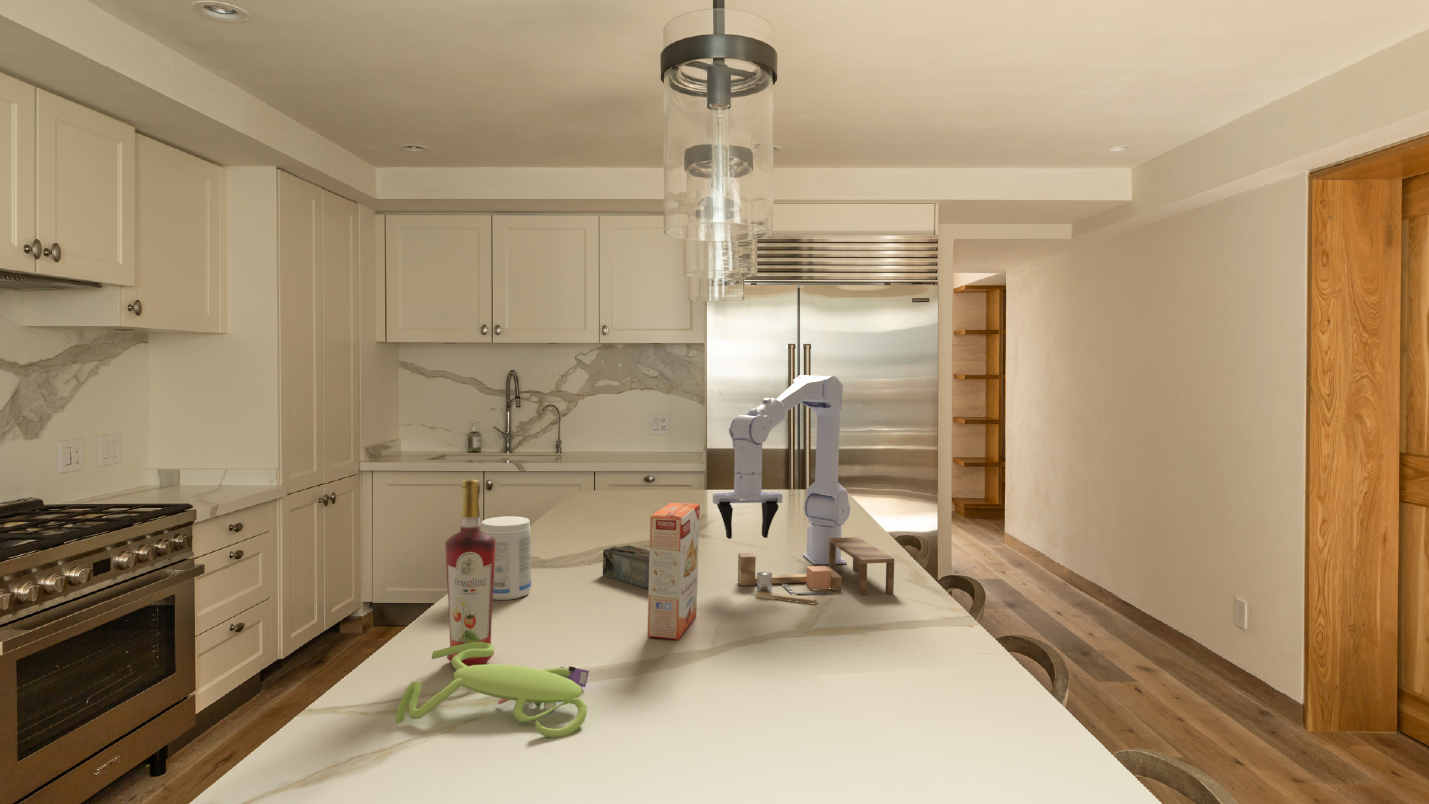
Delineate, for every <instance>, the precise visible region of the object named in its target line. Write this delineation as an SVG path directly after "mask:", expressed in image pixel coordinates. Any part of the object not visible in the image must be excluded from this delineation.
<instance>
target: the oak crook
mask: <svg viewBox="0 0 1429 804" xmlns="http://www.w3.org/2000/svg"><path fill="white" fill-rule="evenodd" d="M737 556H738V557H737V559H738V561H737V564H738V565H737V582H738V584H739V585H740V586H756V585H757V575H756V562H757V561H756V560H757V559H756V558H757V556H756V555H755V554H754V553H753V552H741V553H739V552H738V555H737ZM825 566H826V567H827V568H828V569H830V570H831V589H832V590H836V591H841V590H842V576H841V575H840V574H838V573H837V572H836V570H835V571H834V570H833V569H832V568H830V567H829V566H828V565H825ZM780 583H786V584H792V583H807V573H803V574H802V573H801V574H799V573H798V574H797V573H796V574H772V584H780ZM840 589H841V590H840ZM832 590H831V591H832Z"/></svg>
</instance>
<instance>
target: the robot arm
mask: <svg viewBox="0 0 1429 804" xmlns="http://www.w3.org/2000/svg"><path fill="white" fill-rule="evenodd" d="M843 386H844V385H843V384H842V382H841V381H840V379H839V378H838V377H837V376H835V375H829V376H828V375H806V374H800V375H798V376H797V377H796V378H794V379H793V380H792V382H791V385H790V386H789V387H788V388H787V389H786V390H784V392H782V393H781V394H780V395H779V396H778V397H777V398H775V397H765V398H763V399H762V402H761V403H760V404H758V405H757V406H756V407H754V408H751V409H749V412H746V414H739V415H738V414H737V416H735V417H734V418H733V420H731V423H730V427H729V428H728V434H729V437H730V439H731V441H732V448H733V450H734V475H733V476H734V478H733V479H734V482H733V485H734V486H733V491H729V492H719V493H718V492H717V493H714V492H713V493H712V503H713V504H714V505H717V508H718V511H719V513H720V515H721V518H722V521H723V525H724V529H725V536H726V538H727V539H728V540H729V539H730V540H731V539H732V538H733V534H732V533H733V527H732V523H733V511H734V508H733V507H732V504H750V503H751V504H756V503H758V504H759V503H760V505H761V512H762V514H761V515H762V517H761V518H762V519H761V520H762V521H761V536H762V537H763V538H764V539H767V538H769V537H768V536H769V531H770V527H771V525H772V522H773V519H774V518H775V515H776V514H777V511H778V509H779V504H782V503H783V493H782V492H779V491H778V492H775V491H773V492H772V491H771V492H770V491H762V489H763V488H762V484H763V482H762V481H763V478H762V477H763V476H762V475H763V444H764V443H765V442H766V441H767V439H768V437H769V434H770V432H771V431H772V429H774V428H775V427H777V426H778V425H779V424H780V423H782V422H783V421H784V420H785V419H786V413H787V412H788V411H790V410H791V409H793V408H795V407H797V406H798V405H799V404H800V403H801V404H803V405H805V406H806V407H807V408H809V409H810V410H812V411H813V412H814V413H815V415H816V443H815V444H816V445H815V447H816V449H815V472H814V473H815V476H814V479H815V480H814V482H813V483H812V484H811V485H809V486H808V487H807V489H806V493H805V497H804V502H803V512H804V515H805V517H806V518H807V521H808V523H809V524H808V527H807V530H806V552H804V553H803V552H802V556H803V557H804V558H806V559H807V560H808V561H809V562H810V563H812V564H813V565H816V566H818V565H828V564H829V538H842V534H843V533H842V531H843V530H842V529H843V528H842V527H843V525H845V523H846V521H847V520H848V519H849V517H850V513H851V504H850V502H849V492H848V490H847V489H846V488H845V487H844V486H843V485H841V483H839V463H840V462H839V460H840V459H839V456H840V427H841V421H840V420H841V411H842V410H843V391H844V390H843V388H844V387H843ZM837 564H838V565H839V564H841V565H842V564H845V565H846V564H848V561H847V560H846V559H844V558H843V557H842V550H841V549H839V548H838V547H836V560H835V565H837Z"/></svg>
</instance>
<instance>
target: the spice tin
mask: <svg viewBox="0 0 1429 804" xmlns="http://www.w3.org/2000/svg"><path fill="white" fill-rule="evenodd" d="M756 574H757V575H756V576H757V584H756V592H757V591H764V592H772V593H773V583H772V575H773V573H772V572H770V571H759V572H756Z"/></svg>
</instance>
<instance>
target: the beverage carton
mask: <svg viewBox="0 0 1429 804" xmlns="http://www.w3.org/2000/svg"><path fill="white" fill-rule="evenodd" d="M649 551H650V549H646V548H641V547H637V546H634V545H630V544H628V545H623V546H615V545H614V546H613V545H611V546H610V547H609V548H606V549H604V550H603V551H602V556H603V557H602V559H603V560H602V576H604V577H606V578H610V579H613V580H616V581H620V582H623V583H626V584H629V585H634V586H635V587H636V586H637V587H640V588H644V589H648V590H649Z"/></svg>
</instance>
